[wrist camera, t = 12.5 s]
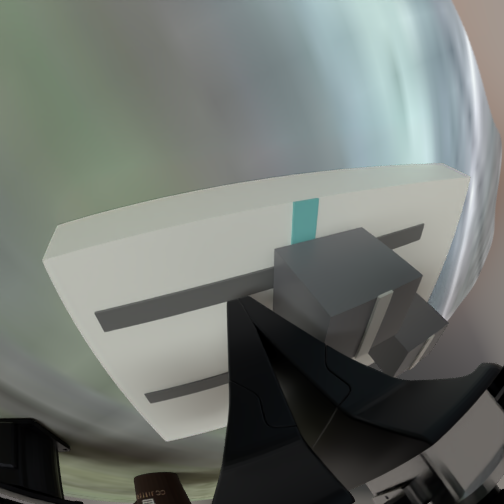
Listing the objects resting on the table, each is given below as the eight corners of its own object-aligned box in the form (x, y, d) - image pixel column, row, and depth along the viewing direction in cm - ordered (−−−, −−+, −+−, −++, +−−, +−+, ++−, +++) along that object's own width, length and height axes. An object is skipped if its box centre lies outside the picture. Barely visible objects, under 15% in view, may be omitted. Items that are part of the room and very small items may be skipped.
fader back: (399, 321, 18) (430, 354, 15) (358, 343, 17) (390, 382, 14) (413, 289, 16) (450, 323, 13) (371, 310, 15) (410, 352, 12)
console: (390, 325, 24) (407, 343, 22) (158, 413, 18) (166, 442, 16) (442, 163, 15) (471, 177, 13) (57, 225, 9) (41, 262, 7)
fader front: (349, 284, 13) (398, 335, 10) (272, 310, 12) (316, 378, 9) (361, 226, 11) (425, 275, 8) (274, 247, 10) (333, 318, 7)
